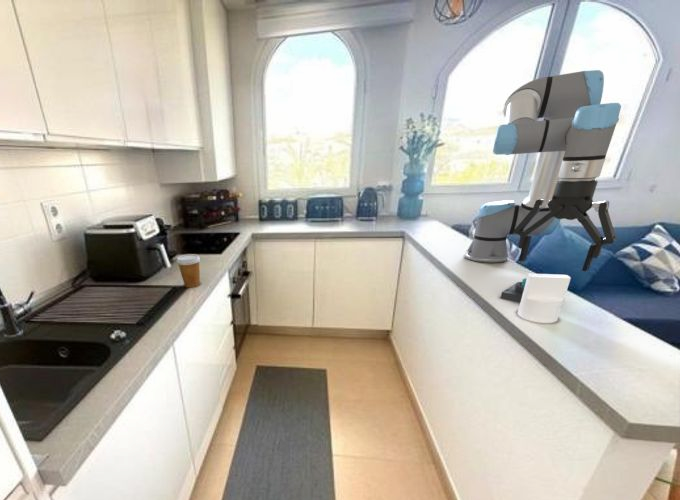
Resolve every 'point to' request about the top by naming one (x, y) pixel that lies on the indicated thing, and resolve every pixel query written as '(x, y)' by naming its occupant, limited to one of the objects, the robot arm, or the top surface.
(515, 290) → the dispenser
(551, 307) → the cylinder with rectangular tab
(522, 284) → the button
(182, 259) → the disposable coffee cup
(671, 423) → the top surface
